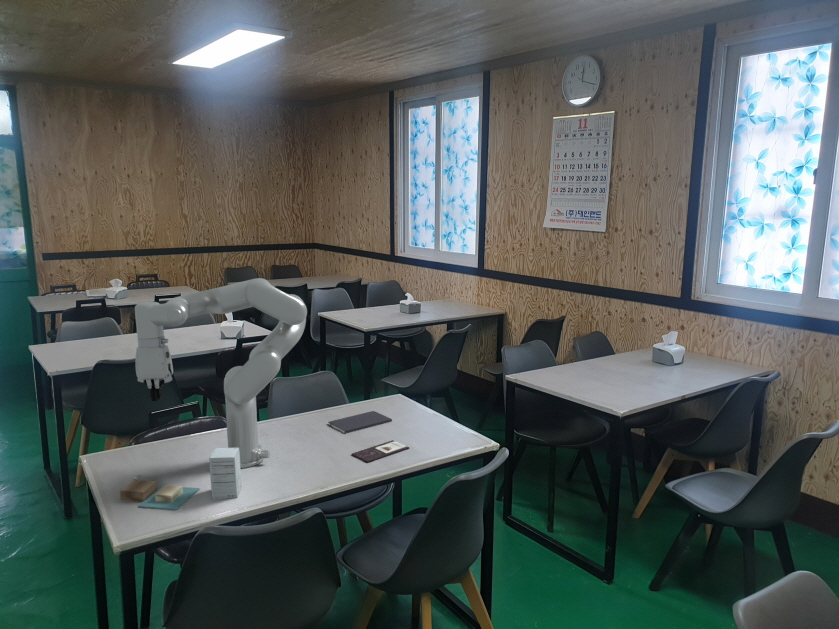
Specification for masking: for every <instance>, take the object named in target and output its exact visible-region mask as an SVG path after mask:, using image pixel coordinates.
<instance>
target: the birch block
mask: <svg viewBox="0 0 839 629" xmlns="http://www.w3.org/2000/svg"><path fill="white" fill-rule="evenodd" d="M164 486H165V487H164V488H163V489H161V490H160V491H159V492H158V493H156V494H155V500H156V501H160V502H173V501H174V500H175V499H176V498H178V497H179V496H180V495H181V494H182V493H183V487H184V486H180V485H169V484H168V485H164Z"/></svg>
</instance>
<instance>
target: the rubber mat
mask: <svg viewBox="0 0 839 629" xmlns="http://www.w3.org/2000/svg"><path fill="white" fill-rule="evenodd" d="M165 486H166V485H162V486H161V487H160V488H157V491H156V492H155V493H153V494H152V495H151V496H150V497H148V498H147V499H146V500H145V501H143V502H140V503H139V505H137V508H142V509H155V510H156V509H157V510H168V511H178V510H180V508H181V507H182V506H184V505H185V504H186V503H187V501H189V500H190V499H191V498H192V497H193V496H194V495H196V493H198V492H199V491H200V489H201V488H200V487H198V488H197V487H189V486H188V487H186V486H183V493H182V494H181V495H180V496H179V497H178V498H176V499H175V500H174V501H173V502H160V501H156V500H155V494H156V493H158V492H159V491H160V490H161V489H163V488H164V487H165Z"/></svg>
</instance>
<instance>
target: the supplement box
mask: <svg viewBox="0 0 839 629" xmlns="http://www.w3.org/2000/svg"><path fill="white" fill-rule="evenodd" d="M208 460H209V475H210V477H209V478H210V489H211V498H212V499H214V500H215V499H216V500H217V499H220V500H221V499H237V498H239V494H240V491H241V489H242V487H243V486H242V474H241V472H242V470H241V469H242V468H240V453H239V448H228V447H223V448H222V447H221V448H220V447H219V448H217V447H216V448H213V451H212V453H211V455H210V457H209V459H208Z"/></svg>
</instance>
